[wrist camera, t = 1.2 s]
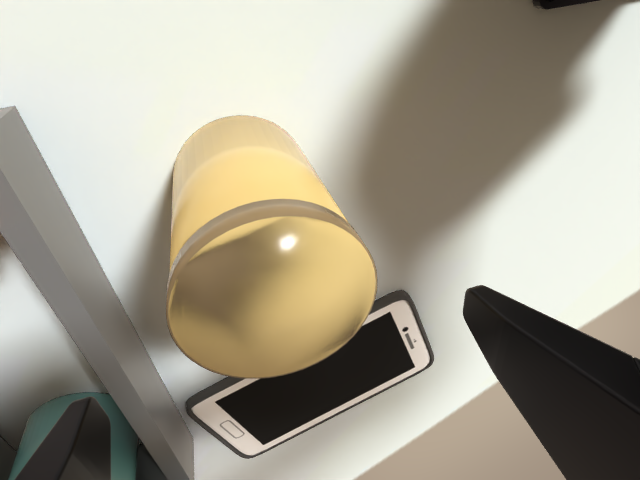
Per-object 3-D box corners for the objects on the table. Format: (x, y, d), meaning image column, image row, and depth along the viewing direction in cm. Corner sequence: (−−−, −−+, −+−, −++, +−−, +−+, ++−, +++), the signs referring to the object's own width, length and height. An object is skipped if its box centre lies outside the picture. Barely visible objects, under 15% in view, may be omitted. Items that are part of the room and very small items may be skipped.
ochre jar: (298, 101, 16) (374, 190, 10) (314, 221, 20) (379, 346, 13) (151, 130, 15) (130, 248, 9) (194, 251, 19) (201, 400, 12)
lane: (15, 106, 14) (-53, 163, 10) (193, 438, 26) (195, 525, 22) (-329, 166, 12) (-576, 264, 8) (31, 489, 24) (2, 592, 20)
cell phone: (179, 396, 24) (179, 411, 23) (403, 281, 24) (410, 291, 23) (243, 449, 29) (245, 462, 28) (431, 353, 29) (438, 364, 28)
